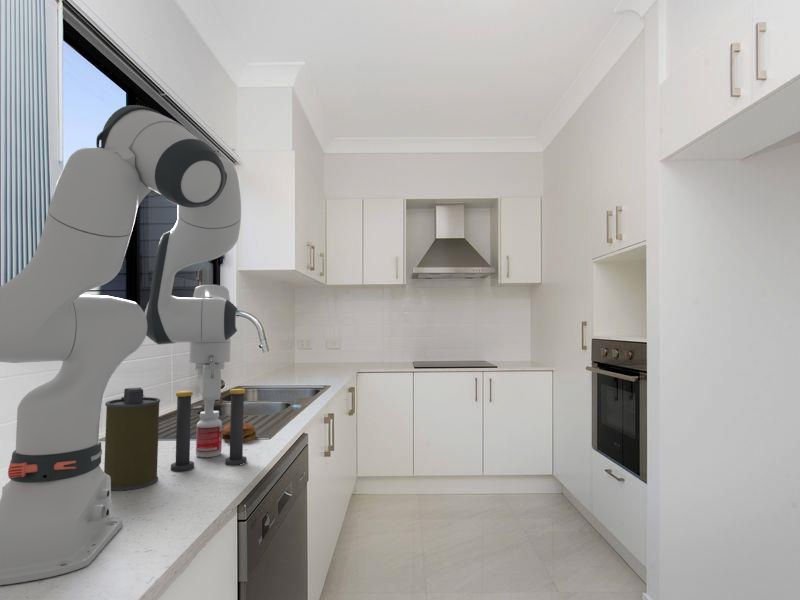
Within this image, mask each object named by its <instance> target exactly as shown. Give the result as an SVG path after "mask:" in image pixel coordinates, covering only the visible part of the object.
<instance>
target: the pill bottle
mask: <svg viewBox="0 0 800 600" xmlns="http://www.w3.org/2000/svg"><path fill="white" fill-rule="evenodd" d="M199 418H200V420H199V421H198V422H197V423H196V439H195V446H196V447H195V455H196V456H197V457H198V458H213V457H214V458H215V457H218V456H220V455H221V453H222V440H223V438H222V437H223V436H222V430H223V423H222V420H221V419H220V411H219V410H214V413H213V415H210V416H206V415H205V410H204V411H200V413H199Z"/></svg>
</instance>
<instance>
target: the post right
mask: <svg viewBox="0 0 800 600" xmlns="http://www.w3.org/2000/svg"><path fill="white" fill-rule="evenodd" d="M229 394H230V422H229V424H230V442H229V456H228V457H227V458H225V460H224V461H225V462H224V464H225V466H228V465H238V466H241V465H240V464H243V463H245V464H247V463H246V462H248V459H247V456H245V455H244V452H243V451H244V450H243V447H244V445H243V444H244V442H243V423H244V412H245V411H244V409H245V408H244V404H245V403H244V402H245V399H244V398H245V394H246V389H245V388H233V389H229ZM243 465H244V464H243Z"/></svg>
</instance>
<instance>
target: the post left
mask: <svg viewBox="0 0 800 600" xmlns="http://www.w3.org/2000/svg"><path fill="white" fill-rule="evenodd" d="M193 394H194V392H193V391H192V390H181V391H176V392H175V397H177V398H176V399H177V400H176V429H175V431H176V432H175V433H176V434H175V435H176V436H175V437H176V439H175V462H172V463H171V464H170V470H171V471H172V472H185V471H190V470H192V469H194V468H195V462H194V461H192V460H190V458H191V457H190V455H191V453H190V451H191V450H190V449H191V419H192V416H191V415H192V396H193Z"/></svg>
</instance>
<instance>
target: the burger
mask: <svg viewBox="0 0 800 600" xmlns="http://www.w3.org/2000/svg"><path fill="white" fill-rule="evenodd" d="M256 437H257V432H256V428H255V426H254V425H253V424H251V423H245V422H243V443H249V442H250V443H251V442H252V440H253V441H254V440H255V439H256ZM222 440H224V441H225V442H227V443H230V423H228V424H226V425H225V426H224V427H222Z"/></svg>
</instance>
